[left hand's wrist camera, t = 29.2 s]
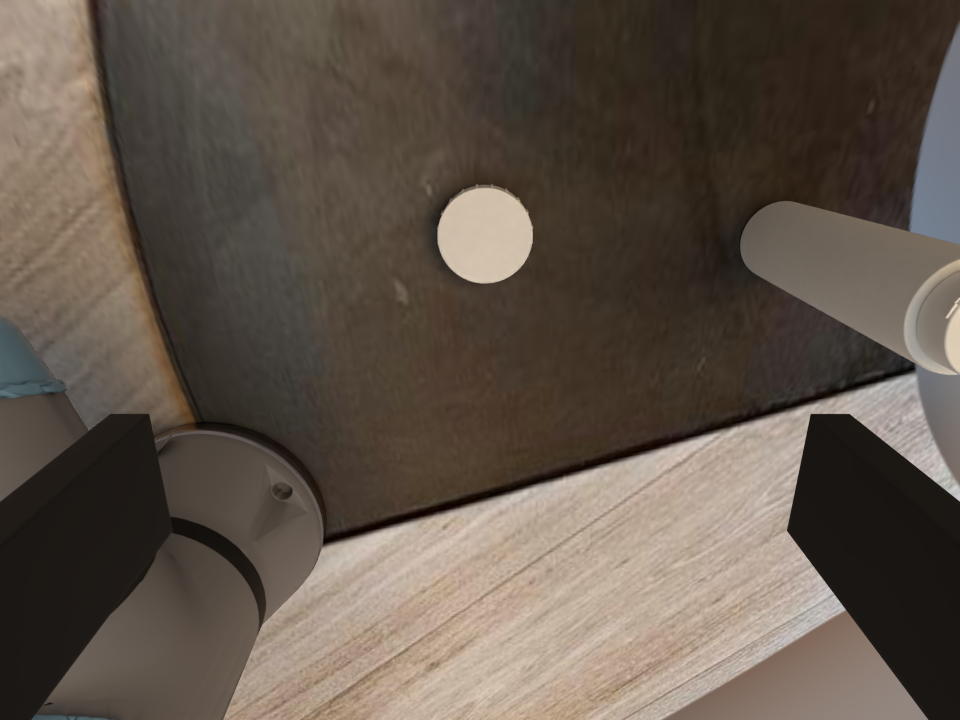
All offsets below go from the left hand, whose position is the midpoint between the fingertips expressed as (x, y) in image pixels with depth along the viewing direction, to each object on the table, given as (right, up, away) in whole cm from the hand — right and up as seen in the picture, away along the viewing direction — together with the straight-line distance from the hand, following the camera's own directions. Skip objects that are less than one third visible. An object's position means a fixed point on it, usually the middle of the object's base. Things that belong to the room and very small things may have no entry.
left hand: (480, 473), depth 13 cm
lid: (0, +10, +26) cm, 27 cm away
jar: (+19, +10, +27) cm, 35 cm away
